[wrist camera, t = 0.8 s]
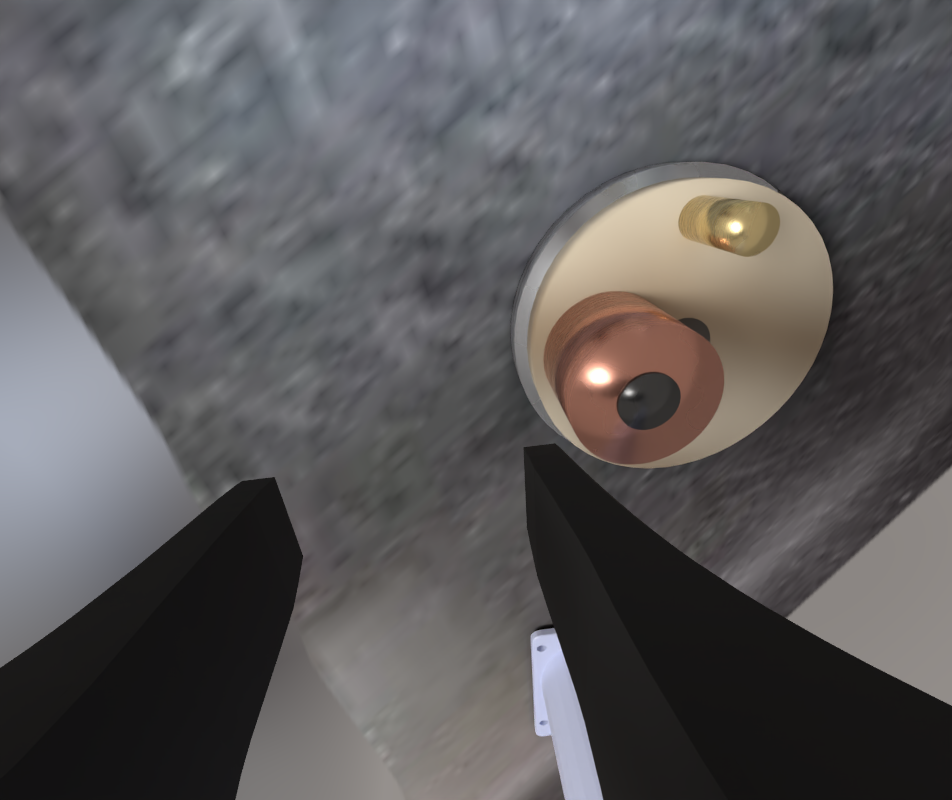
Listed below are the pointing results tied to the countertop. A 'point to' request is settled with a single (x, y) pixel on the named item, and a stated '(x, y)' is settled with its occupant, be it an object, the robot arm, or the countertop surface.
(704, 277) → the turntable
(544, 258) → the base
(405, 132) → the countertop surface
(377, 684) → the countertop surface
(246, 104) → the countertop surface
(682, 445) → the cover
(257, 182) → the countertop surface
